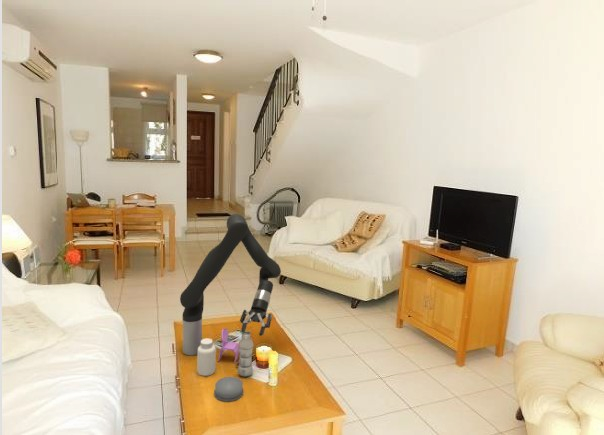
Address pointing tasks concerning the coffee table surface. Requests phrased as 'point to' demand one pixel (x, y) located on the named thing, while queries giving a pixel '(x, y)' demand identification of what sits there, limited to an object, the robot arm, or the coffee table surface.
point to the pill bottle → (206, 357)
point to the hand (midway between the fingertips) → (251, 333)
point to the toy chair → (228, 345)
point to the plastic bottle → (245, 355)
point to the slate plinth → (228, 389)
